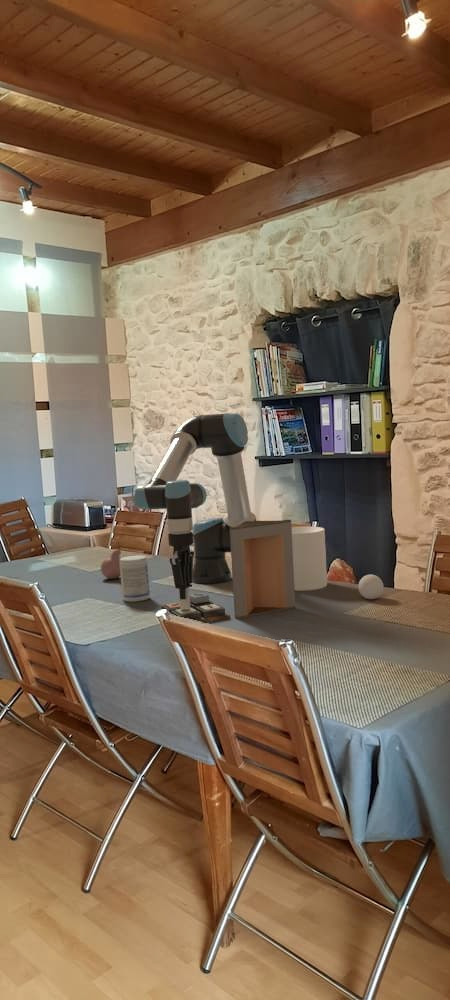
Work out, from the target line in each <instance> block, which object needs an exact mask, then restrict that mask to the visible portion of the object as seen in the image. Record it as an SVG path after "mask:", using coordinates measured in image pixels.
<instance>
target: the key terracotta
mask: <svg viewBox="0 0 450 1000" xmlns="http://www.w3.org/2000/svg"><path fill="white" fill-rule="evenodd" d="M164 605H165V606H166V607H167V608H169V609H174V608H180V601H179V602H173V603H167V604H164Z"/></svg>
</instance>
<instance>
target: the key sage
mask: <svg viewBox="0 0 450 1000" xmlns="http://www.w3.org/2000/svg"><path fill="white" fill-rule="evenodd" d="M175 612H176V613H177V614H179V615H184V614H190V613H196V610H194V609H192V608H191V607H190V609H189V610H183V609H177V610H175Z"/></svg>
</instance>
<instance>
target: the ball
mask: <svg viewBox="0 0 450 1000" xmlns="http://www.w3.org/2000/svg"><path fill="white" fill-rule="evenodd" d="M357 587H358V592H359V594H360V595H361V596H362V597H364V598H365V599H366V600H375V599H378V598H379V597H380V596H381V595H382V594H383V592H384V583H383V581H382V579H381V578H380V577H379V576H377V575H375V574H372V573H371V574H366V575H364V576H363V577H362V578H361V579H360V580H359V582H358V586H357Z"/></svg>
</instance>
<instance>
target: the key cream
mask: <svg viewBox="0 0 450 1000" xmlns="http://www.w3.org/2000/svg"><path fill="white" fill-rule="evenodd" d="M215 604H216V603H214V604H211V605H205V606H199V608H200V609H202V610H204V611H208V610H214V609H220V608H221V607H222V606H221V607H219V606H220V605H219V606H217V605H218V604H217V605H215Z"/></svg>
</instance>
